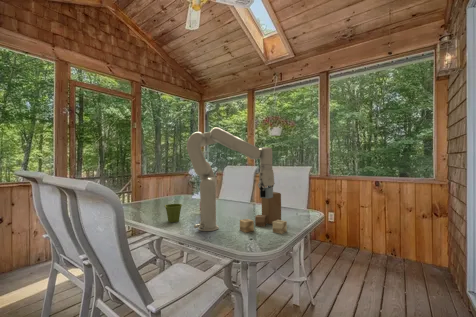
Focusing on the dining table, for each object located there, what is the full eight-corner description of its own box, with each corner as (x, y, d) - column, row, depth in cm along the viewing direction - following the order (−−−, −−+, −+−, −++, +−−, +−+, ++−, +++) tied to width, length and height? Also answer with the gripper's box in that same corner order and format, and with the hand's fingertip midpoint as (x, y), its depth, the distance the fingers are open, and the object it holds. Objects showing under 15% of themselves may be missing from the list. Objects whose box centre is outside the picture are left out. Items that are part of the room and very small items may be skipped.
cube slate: (268, 198, 141) (268, 188, 141) (259, 197, 144) (259, 187, 144) (273, 197, 145) (273, 187, 146) (264, 196, 149) (264, 187, 149)
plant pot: (161, 223, 159) (161, 206, 159) (171, 218, 170) (170, 203, 170) (176, 224, 156) (176, 207, 156) (185, 219, 167) (185, 204, 167)
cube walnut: (264, 226, 148) (264, 217, 148) (255, 226, 150) (255, 216, 150) (266, 224, 153) (266, 215, 153) (257, 223, 155) (257, 214, 155)
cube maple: (281, 234, 133) (281, 223, 133) (272, 232, 136) (272, 221, 136) (286, 231, 137) (286, 221, 137) (277, 229, 141) (277, 219, 141)
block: (281, 223, 156) (281, 192, 156) (269, 225, 151) (268, 193, 152) (273, 219, 165) (273, 191, 165) (261, 221, 160) (260, 192, 161)
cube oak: (245, 232, 136) (245, 222, 136) (239, 230, 141) (239, 220, 141) (253, 231, 139) (253, 220, 139) (248, 228, 144) (248, 218, 144)
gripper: (262, 167, 136) (262, 198, 136) (279, 167, 149) (279, 195, 148) (252, 167, 141) (252, 197, 141) (269, 167, 154) (269, 194, 154)
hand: (266, 196), depth 145 cm, fingers closed on cube slate, 6 cm apart
